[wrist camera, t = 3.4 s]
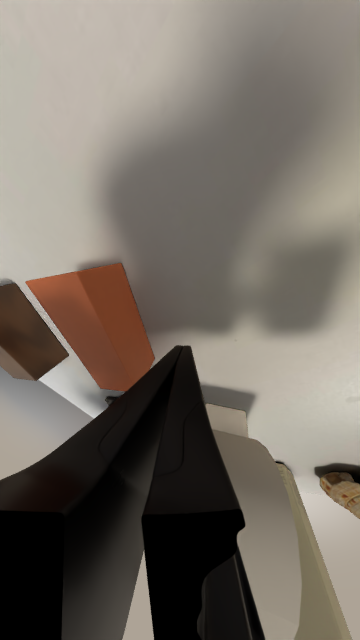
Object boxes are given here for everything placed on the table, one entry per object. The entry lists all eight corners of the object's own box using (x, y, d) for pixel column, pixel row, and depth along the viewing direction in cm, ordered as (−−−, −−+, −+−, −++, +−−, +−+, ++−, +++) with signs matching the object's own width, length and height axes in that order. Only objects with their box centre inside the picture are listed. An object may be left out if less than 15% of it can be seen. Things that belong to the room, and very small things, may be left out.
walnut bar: (69, 355, 18) (36, 381, 15) (49, 354, 19) (14, 378, 16) (15, 283, 13) (-52, 296, 10) (-8, 287, 14) (-75, 300, 11)
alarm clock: (200, 386, 15) (170, 735, 4) (258, 396, 14) (415, 916, 3) (194, 456, 27) (181, 600, 16) (225, 465, 25) (235, 628, 15)
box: (254, 460, 22) (296, 677, 11) (284, 462, 20) (372, 727, 9) (266, 473, 23) (313, 674, 12) (295, 476, 21) (381, 716, 10)
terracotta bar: (155, 358, 15) (137, 393, 11) (124, 357, 16) (100, 388, 12) (121, 262, 10) (75, 271, 7) (81, 270, 11) (24, 281, 8)
